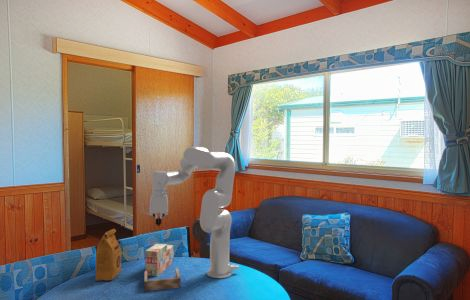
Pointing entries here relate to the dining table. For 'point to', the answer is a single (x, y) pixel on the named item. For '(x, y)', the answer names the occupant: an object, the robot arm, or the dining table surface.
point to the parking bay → (162, 282)
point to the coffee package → (108, 257)
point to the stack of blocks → (158, 258)
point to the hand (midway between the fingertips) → (158, 225)
